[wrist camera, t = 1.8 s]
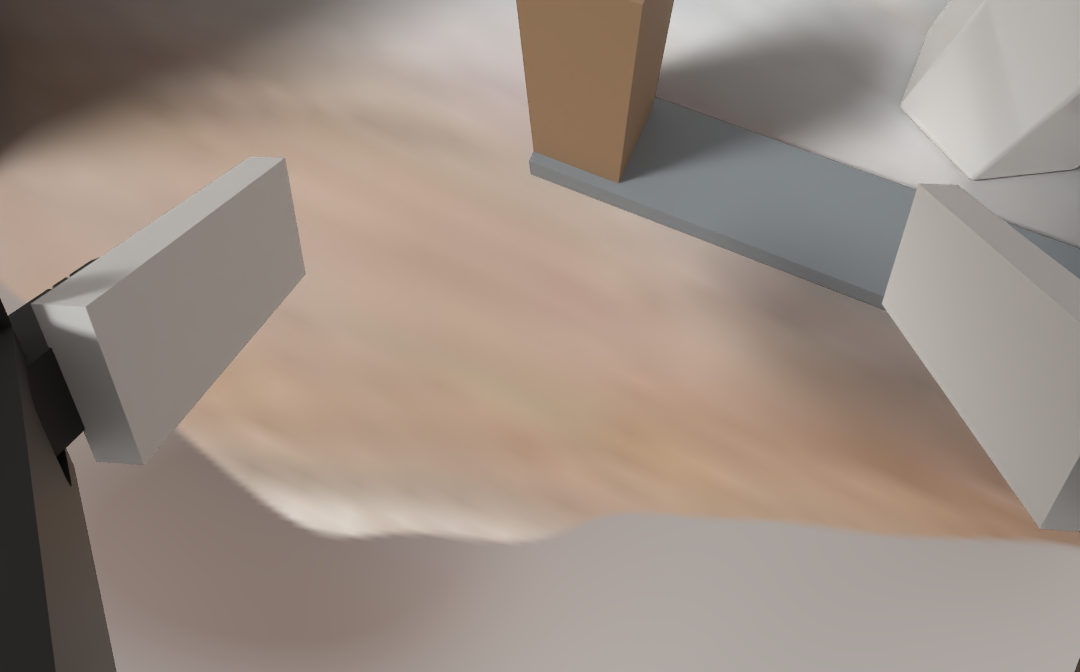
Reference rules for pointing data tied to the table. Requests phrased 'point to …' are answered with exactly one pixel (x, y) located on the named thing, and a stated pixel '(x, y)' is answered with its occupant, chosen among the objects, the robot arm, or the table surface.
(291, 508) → the table surface
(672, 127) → the pull strip
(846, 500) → the table surface
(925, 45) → the jar
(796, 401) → the table surface
